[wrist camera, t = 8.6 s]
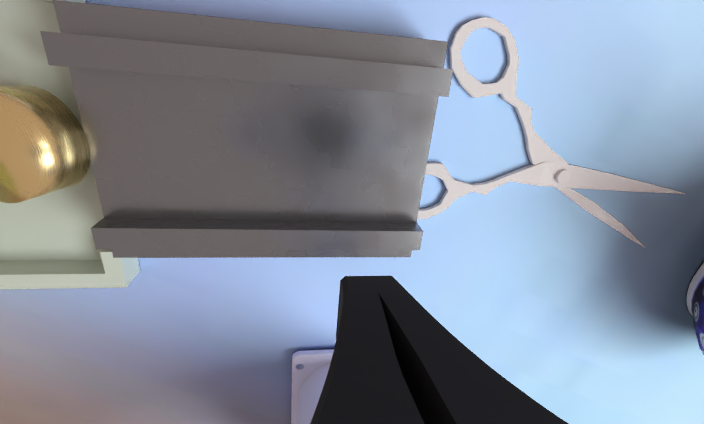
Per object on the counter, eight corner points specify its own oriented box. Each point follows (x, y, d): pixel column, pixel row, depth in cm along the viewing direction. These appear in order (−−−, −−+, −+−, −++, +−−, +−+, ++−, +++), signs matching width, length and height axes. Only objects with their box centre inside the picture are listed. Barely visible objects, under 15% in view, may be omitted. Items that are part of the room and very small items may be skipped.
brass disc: (98, 193, 14) (49, 212, 12) (18, 178, 14) (-40, 193, 13) (77, 92, 12) (16, 95, 10) (-13, 79, 13) (-85, 80, 11)
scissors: (440, -11, 14) (735, 146, 19) (434, -7, 15) (720, 143, 20) (351, 208, 18) (620, 291, 23) (349, 203, 18) (611, 284, 24)
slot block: (400, 238, 19) (416, 267, 16) (133, 236, 17) (101, 270, 14) (430, 44, 15) (459, 40, 12) (87, 8, 13) (30, -6, 10)
